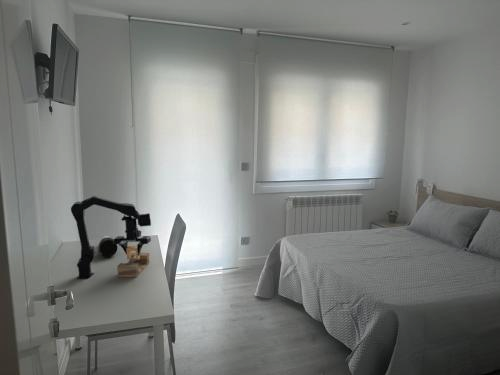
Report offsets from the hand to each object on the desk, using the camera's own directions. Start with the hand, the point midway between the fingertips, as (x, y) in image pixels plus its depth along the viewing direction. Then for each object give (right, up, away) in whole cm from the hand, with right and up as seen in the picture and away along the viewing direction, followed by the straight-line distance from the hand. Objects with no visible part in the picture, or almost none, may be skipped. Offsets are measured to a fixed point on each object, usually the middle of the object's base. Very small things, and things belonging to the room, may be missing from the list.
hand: (133, 255), depth 192 cm
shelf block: (0, -8, +1) cm, 8 cm away
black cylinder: (-29, -4, +36) cm, 46 cm away
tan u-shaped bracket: (0, -2, 0) cm, 2 cm away
